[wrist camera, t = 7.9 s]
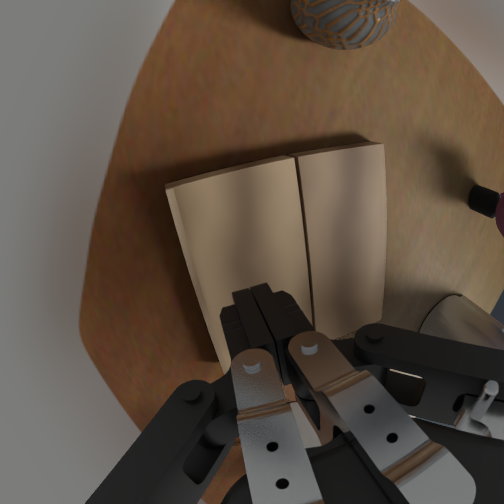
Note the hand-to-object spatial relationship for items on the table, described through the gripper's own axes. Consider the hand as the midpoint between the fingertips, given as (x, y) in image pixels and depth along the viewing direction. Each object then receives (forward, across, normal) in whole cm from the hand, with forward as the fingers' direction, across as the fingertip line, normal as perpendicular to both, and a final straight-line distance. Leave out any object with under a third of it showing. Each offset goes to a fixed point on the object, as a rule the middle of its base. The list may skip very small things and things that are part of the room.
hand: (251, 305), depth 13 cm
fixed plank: (+12, -10, +5) cm, 17 cm away
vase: (+12, -11, -15) cm, 22 cm away
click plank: (+11, -2, +5) cm, 13 cm away
